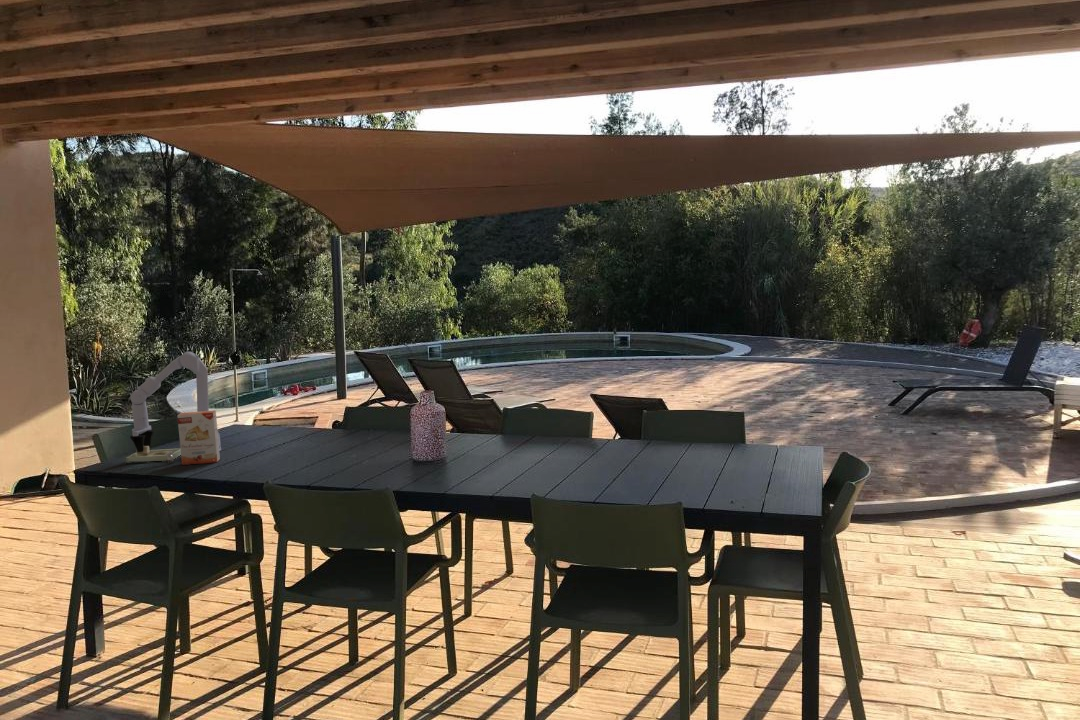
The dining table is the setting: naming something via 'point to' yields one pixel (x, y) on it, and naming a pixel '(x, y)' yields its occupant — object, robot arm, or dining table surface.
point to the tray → (154, 458)
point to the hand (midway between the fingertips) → (144, 449)
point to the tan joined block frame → (147, 452)
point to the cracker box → (198, 437)
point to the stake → (169, 457)
